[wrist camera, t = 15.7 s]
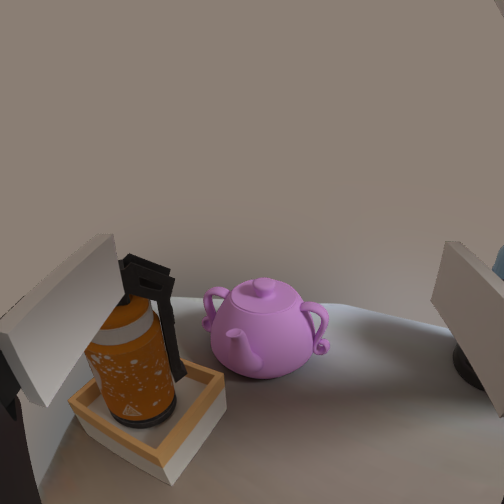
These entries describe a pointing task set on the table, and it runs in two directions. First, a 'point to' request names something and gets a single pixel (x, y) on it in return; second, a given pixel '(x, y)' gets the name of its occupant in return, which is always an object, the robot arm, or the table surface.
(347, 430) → the table surface
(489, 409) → the table surface
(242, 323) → the teapot
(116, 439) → the orange-rimmed open box
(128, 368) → the canister
